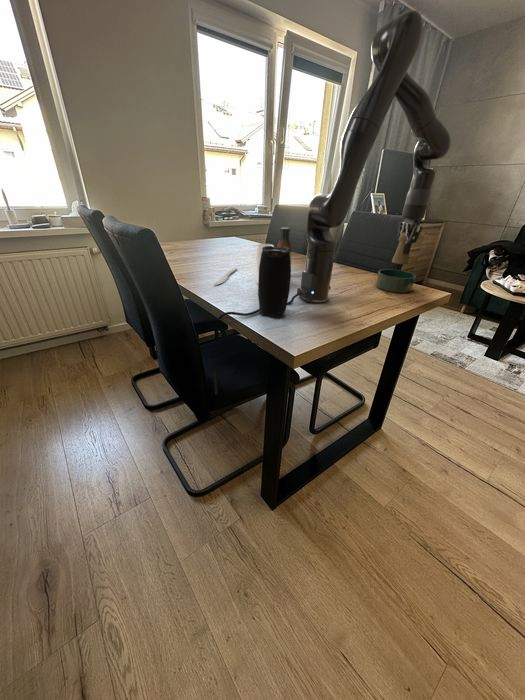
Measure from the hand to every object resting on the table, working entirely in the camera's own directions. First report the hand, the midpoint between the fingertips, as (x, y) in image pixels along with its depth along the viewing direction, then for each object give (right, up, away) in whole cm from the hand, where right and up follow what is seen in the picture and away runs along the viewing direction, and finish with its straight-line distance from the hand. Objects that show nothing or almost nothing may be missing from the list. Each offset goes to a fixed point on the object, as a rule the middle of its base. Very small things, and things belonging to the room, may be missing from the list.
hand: (402, 252), depth 109 cm
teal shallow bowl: (0, -12, +7) cm, 14 cm away
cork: (0, -3, +2) cm, 4 cm away
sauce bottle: (-45, -5, +17) cm, 49 cm away
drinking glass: (-54, -11, +5) cm, 56 cm away
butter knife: (-70, -6, +12) cm, 71 cm away
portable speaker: (-52, -27, -21) cm, 62 cm away
